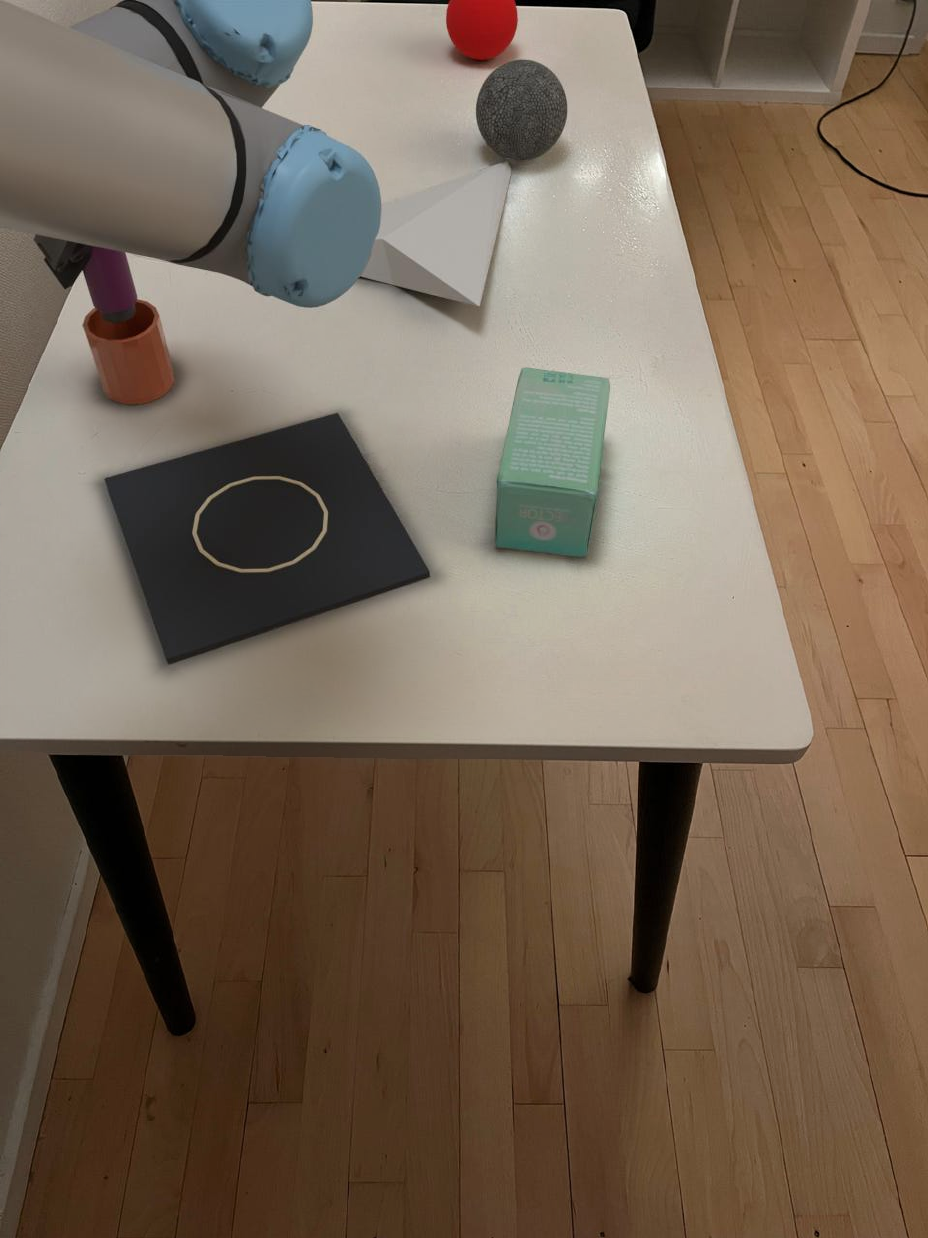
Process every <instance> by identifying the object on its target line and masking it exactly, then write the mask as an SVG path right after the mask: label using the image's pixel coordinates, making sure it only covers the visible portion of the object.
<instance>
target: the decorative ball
mask: <svg viewBox="0 0 928 1238" xmlns="http://www.w3.org/2000/svg"><path fill="white" fill-rule="evenodd" d="M567 99H568V98H567V95H566V92H565V89H564V87H563V85H562V83H561V81H560V79H559V78H558V76H557V75H556V74H555V72H553V71H552V70H551V69H550V68H548V67H547V66H546V65H544V64H542V63H541V62H538V61H535V60H531V59H515V60H511V61H510V60H509V61H508V62H505V63H503V64H501V65H499V66H498V67H496V68H495V69H494V70H493V71H491V72H490V74H489V75H487V77H486V78H485V80H484V82H483V84H482V85H481V87H480V89H479V92H478V95H477V98H476V103H475V120H476V124H477V128H478V130H479V133H480V135H481V138H482V139H483V140H484V143H486V145H487V146H488V147H489V148H490V149H491V150H492V151H493V152H494V153H496V154H497V155H499V156H500V157H503V158H504V159H508V160H510V161H518V162H522V161H530V160H534V159H536V158H539V157H541V156H543V155H544V154H546V153H547V152H549V151H550V150H551V149H552V148H553V147H554V146H555V145H556V143H557V142H558V141H559V139H560V138H561V135H562V134H563V132H564V129H565V127H566V123H567V118H568V100H567Z"/></svg>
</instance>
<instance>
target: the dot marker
mask: <svg viewBox="0 0 928 1238" xmlns="http://www.w3.org/2000/svg"><path fill="white" fill-rule="evenodd" d="M89 252H90V254H91V255H92V257H91V258H90V260H89V261H88V263H87V264H86V265H85V267H84V268H83V270H82V273H83V276H84V280H85V284H86V287H87V290H88V292H89V296H90V299H91V302H92V305H93V307H94V308H96V309H97V310H99V311H101V315H102V317H103V319H104V320H106V321H108V322H112V323H119V322H124V321H127V320H129V319H131V318H132V317H133V316H134V315H135V313H136V308H135V303H136V301H137V299H138V293H137V290H136V286H135V282H134V278H133V275H132V272H131V268H130V265H129V259H128V257H127V253H126V252H121V251H116V250H111V249H106V248H101V247H96V246H92V248H91V249H90V250H89Z"/></svg>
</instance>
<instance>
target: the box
mask: <svg viewBox="0 0 928 1238" xmlns="http://www.w3.org/2000/svg"><path fill="white" fill-rule="evenodd" d="M518 375H519V376H518V378H517V383H516V387H515V388H516V389H515V393H514V396H513V402H512V408H511V411H510V417H509V422H508V425H507V430H506V437H505V441H504V445H503V450H502V456H501V461H500V465H499V470H498V473H497V476H496V505H495V507H496V508H495V521H494V522H495V523H494V525H495V526H494V548H497V549H498V548H499V549H508V550H517V551H518V550H519V551H524V552H525V551H526V552H534V553H544V554H552V555H562V556H567V557H568V556H569V557H576V558H577V557H578V558H580V557H581V558H586V557H587V556H588V553H589V549H590V541H591V536H592V531H593V524H594V519H595V512H596V505H597V499H598V492H599V483H600V476H601V467H602V460H603V459H602V458H603V452H604V451H603V449H604V441H605V433H606V426H607V425H606V424H607V417H608V409H609V401H610V392H611V391H610V390H611V383H610V378H609V377H603V376H602V377H601V376H595V375H594V376H593V375H587V374H579V373H573V372H572V373H571V372H563V371H556V370H548V369H541V368H532V367H521V369H520V373H519V374H518Z"/></svg>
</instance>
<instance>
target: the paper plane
mask: <svg viewBox="0 0 928 1238" xmlns="http://www.w3.org/2000/svg"><path fill="white" fill-rule="evenodd" d="M512 172H513V171H512V168H511V166H510V164H509V163H508V161H507V160H504V161H502V162H499V163H496V164H494V165H490V166H487V167H485V168H482V169H479V170H476V171H474V172H470V173H468V174H465V175H462V176H460V177H457V178H454V179H451V180H448V181H445V182H442V183H440V184H437V185H434V186H432V187H431V186H430V187H429V188H425V189H423V190H420V191H417V192H414V193H412V194H409V195H406V196H403V197H401V198H397V199H394V200H392V201H389V202H386V203H383V204H381V221H380V228H379V233H378V235H377V237H376V238H375V241H374V245H373V247H372V250H371V257H370V259H369V261H368V263H367V265H366V267H365V269H364V271H363V272H362V274H361V275H360V277H362V278H365V279H369V280H372V281H376V282H379V283H385V284H388V285H392V286H395V287H400V288H403V289H407V290H411V291H416V292H420V293H423V294H428V295H431V296H435V297H439V298H444V299H448V300H452V301H455V302H460V303H464V304H468V305H471V306H476V307H481V302H482V297H483V295H484V290H485V285H486V281H487V277H488V273H489V268H490V266H491V260H492V256H493V252H494V247H495V243H496V239H497V235H498V231H499V226H500V222H501V217H502V214H503V209H504V206H505V202H506V196H507V193H508V188H509V184H510V180H511V175H512Z"/></svg>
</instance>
